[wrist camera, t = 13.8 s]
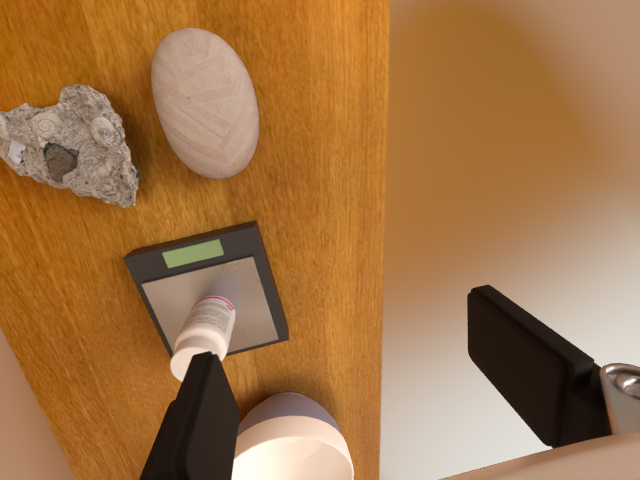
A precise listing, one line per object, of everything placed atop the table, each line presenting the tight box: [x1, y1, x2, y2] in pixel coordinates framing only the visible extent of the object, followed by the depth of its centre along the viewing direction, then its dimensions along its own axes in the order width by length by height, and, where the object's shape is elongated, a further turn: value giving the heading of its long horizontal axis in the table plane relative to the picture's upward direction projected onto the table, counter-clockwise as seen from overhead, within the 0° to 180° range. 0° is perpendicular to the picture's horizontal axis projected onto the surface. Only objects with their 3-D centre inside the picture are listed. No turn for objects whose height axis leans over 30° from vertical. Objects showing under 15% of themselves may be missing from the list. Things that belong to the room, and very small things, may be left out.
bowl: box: [231, 392, 354, 480], centre depth 40 cm, size 16×16×10 cm
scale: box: [123, 221, 289, 359], centre depth 35 cm, size 15×14×3 cm
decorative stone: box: [151, 28, 259, 179], centre depth 28 cm, size 13×9×5 cm
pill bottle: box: [170, 296, 236, 382], centre depth 30 cm, size 5×5×8 cm
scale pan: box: [141, 254, 279, 353], centre depth 34 cm, size 11×12×1 cm
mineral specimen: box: [0, 83, 140, 208], centre depth 27 cm, size 6×11×12 cm
